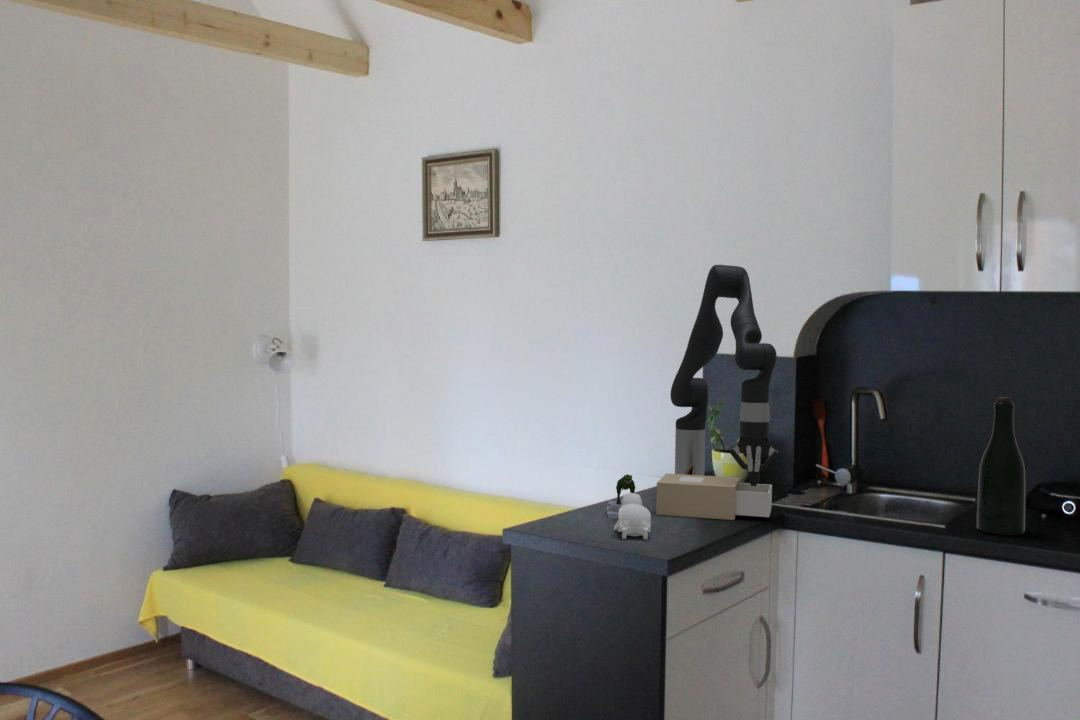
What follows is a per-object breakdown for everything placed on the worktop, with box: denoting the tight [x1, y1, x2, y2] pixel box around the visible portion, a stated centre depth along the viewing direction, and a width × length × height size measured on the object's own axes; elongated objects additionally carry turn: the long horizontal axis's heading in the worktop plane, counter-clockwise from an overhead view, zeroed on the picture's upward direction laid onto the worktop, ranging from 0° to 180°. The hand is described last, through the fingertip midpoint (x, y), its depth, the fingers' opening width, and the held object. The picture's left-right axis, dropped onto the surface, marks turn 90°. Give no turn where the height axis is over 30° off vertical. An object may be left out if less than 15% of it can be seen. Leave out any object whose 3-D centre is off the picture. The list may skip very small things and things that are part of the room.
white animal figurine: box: [613, 492, 652, 540], centre depth 217 cm, size 9×8×15 cm
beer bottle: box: [976, 396, 1026, 535], centre depth 223 cm, size 10×10×33 cm
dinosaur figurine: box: [605, 473, 644, 520], centre depth 239 cm, size 9×20×12 cm, turn 179°
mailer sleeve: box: [655, 472, 741, 521], centre depth 244 cm, size 16×20×8 cm
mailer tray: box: [735, 482, 773, 518], centre depth 241 cm, size 14×19×6 cm
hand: (753, 485), depth 239 cm, fingers closed
